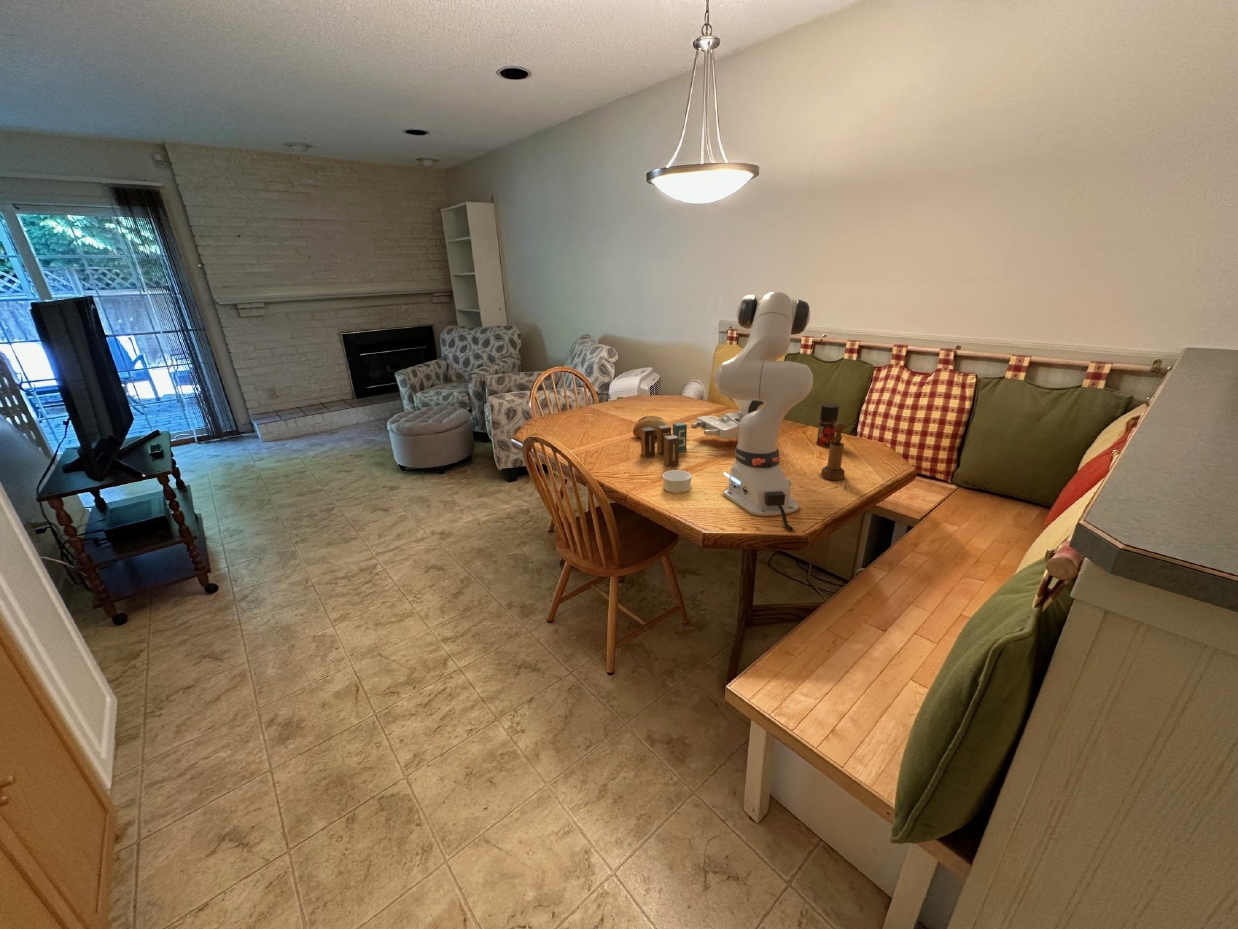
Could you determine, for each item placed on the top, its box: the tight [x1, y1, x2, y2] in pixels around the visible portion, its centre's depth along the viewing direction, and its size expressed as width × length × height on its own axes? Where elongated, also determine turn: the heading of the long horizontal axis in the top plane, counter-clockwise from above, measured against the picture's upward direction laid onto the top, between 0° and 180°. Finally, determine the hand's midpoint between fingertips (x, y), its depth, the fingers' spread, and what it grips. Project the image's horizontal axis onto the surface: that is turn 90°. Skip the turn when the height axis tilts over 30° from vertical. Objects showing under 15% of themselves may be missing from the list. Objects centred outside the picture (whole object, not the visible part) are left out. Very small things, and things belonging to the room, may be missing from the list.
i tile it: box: [640, 427, 656, 458], centre depth 173 cm, size 4×4×10 cm
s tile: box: [672, 421, 688, 452], centre depth 178 cm, size 4×4×10 cm
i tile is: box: [663, 434, 680, 468], centre depth 164 cm, size 4×4×10 cm
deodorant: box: [816, 402, 840, 448], centre depth 177 cm, size 6×6×15 cm
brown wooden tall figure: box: [820, 421, 846, 481], centre depth 148 cm, size 7×6×18 cm
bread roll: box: [632, 415, 668, 438], centre depth 194 cm, size 10×15×8 cm, turn 97°
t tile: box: [656, 424, 672, 455], centre depth 175 cm, size 4×4×10 cm
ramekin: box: [662, 469, 693, 494], centre depth 146 cm, size 9×9×4 cm
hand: (698, 429), depth 180 cm, fingers open, 8 cm apart
